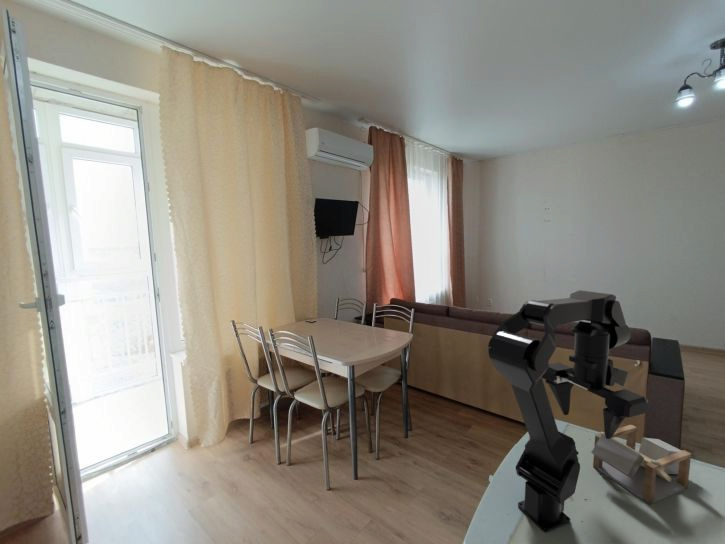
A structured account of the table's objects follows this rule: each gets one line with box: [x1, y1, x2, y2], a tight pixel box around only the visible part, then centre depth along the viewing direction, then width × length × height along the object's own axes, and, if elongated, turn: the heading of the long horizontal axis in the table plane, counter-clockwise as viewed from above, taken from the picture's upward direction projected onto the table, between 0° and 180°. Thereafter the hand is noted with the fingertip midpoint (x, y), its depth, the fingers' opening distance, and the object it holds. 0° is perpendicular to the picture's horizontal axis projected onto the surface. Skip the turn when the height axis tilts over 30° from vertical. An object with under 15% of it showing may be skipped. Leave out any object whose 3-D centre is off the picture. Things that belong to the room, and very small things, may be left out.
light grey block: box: [638, 437, 682, 475], centre depth 74 cm, size 5×5×6 cm
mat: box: [592, 461, 686, 505], centre depth 72 cm, size 12×11×1 cm
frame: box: [592, 424, 692, 505], centre depth 71 cm, size 12×11×8 cm
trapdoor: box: [591, 434, 671, 482], centre depth 70 cm, size 13×8×6 cm
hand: (585, 425), depth 69 cm, fingers open, 9 cm apart
